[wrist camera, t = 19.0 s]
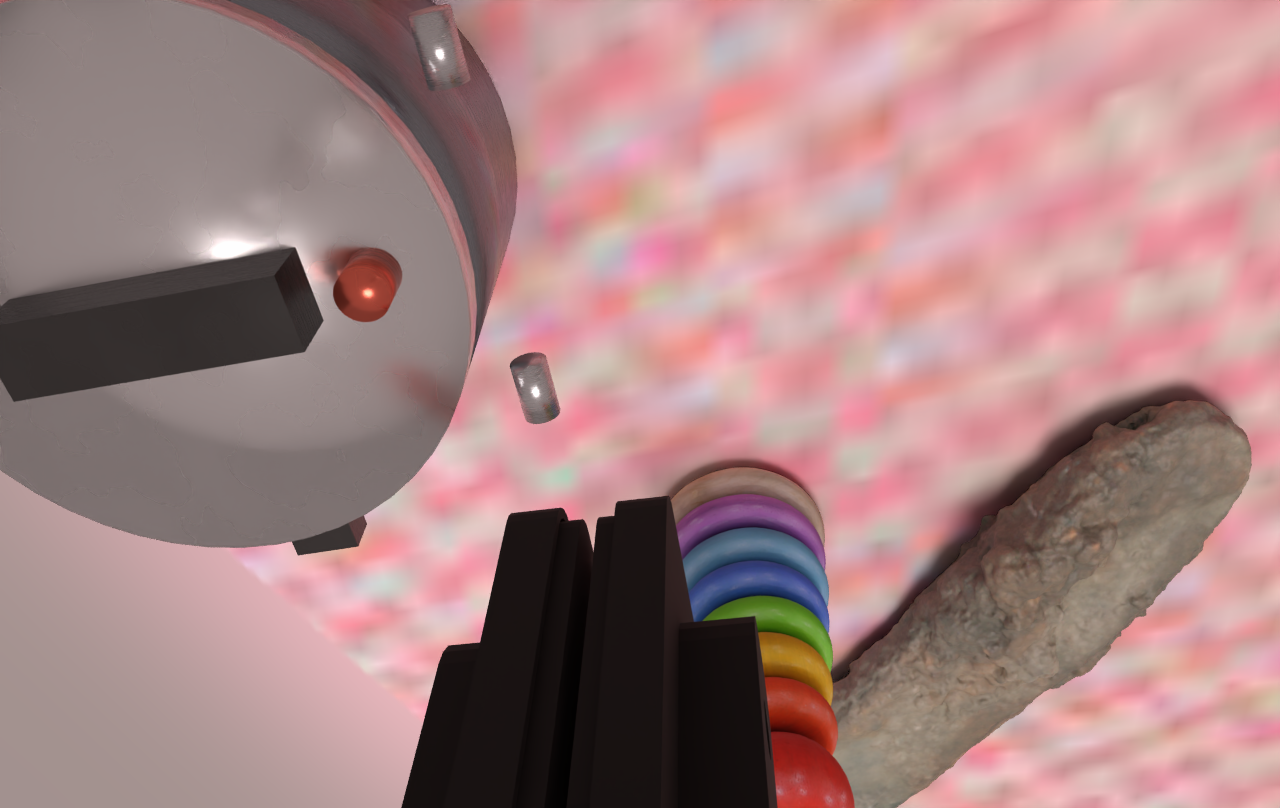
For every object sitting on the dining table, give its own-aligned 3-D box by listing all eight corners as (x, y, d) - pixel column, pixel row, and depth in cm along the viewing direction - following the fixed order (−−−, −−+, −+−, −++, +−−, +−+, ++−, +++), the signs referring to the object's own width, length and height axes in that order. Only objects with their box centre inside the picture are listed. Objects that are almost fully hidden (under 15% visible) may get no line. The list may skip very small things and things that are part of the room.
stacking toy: (736, 615, 55) (769, 969, 39) (623, 527, 52) (607, 870, 36) (855, 527, 52) (945, 871, 36) (742, 429, 49) (783, 755, 33)
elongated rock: (687, 773, 63) (823, 823, 66) (692, 855, 59) (836, 905, 62) (1127, 342, 46) (1282, 437, 49) (1178, 414, 42) (1345, 514, 45)
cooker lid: (-246, 51, 30) (-350, 84, 27) (371, -83, 28) (335, -64, 25) (55, 551, 39) (3, 620, 36) (537, 478, 37) (526, 543, 34)
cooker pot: (-65, -101, 38) (-328, -52, 28) (461, -222, 36) (384, -217, 26) (199, 446, 50) (82, 620, 40) (607, 380, 48) (593, 546, 38)
